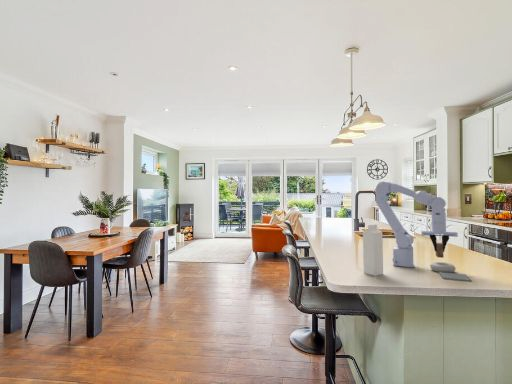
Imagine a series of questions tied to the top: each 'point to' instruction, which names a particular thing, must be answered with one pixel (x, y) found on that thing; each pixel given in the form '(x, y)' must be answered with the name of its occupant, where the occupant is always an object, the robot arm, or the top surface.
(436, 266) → the donut
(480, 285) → the top surface
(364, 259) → the milk
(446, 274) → the mat
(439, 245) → the tall brown wooden block
